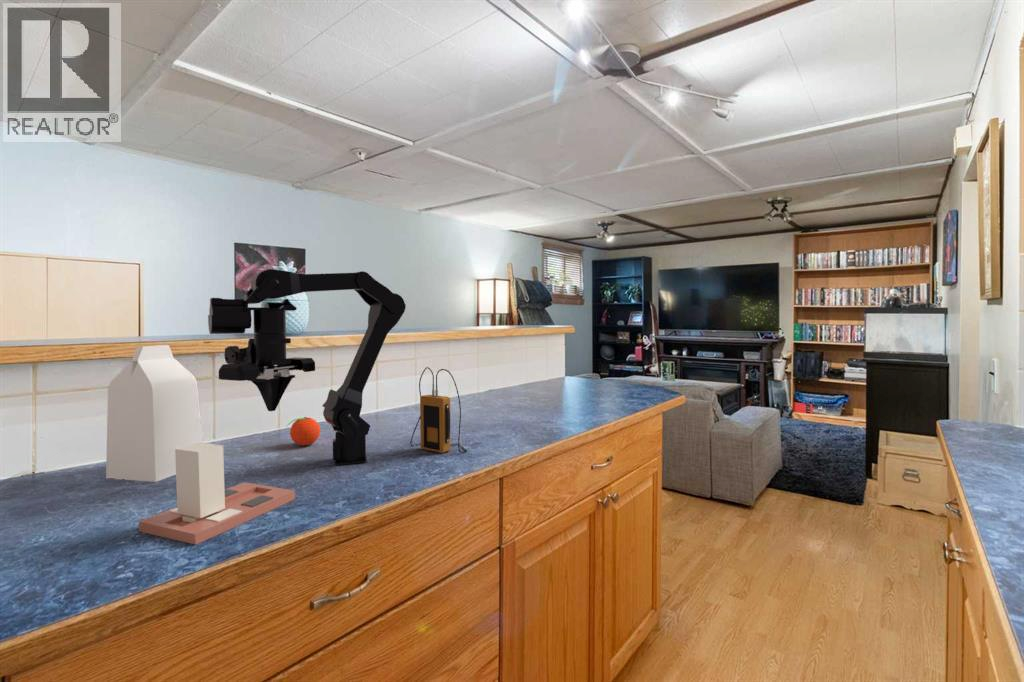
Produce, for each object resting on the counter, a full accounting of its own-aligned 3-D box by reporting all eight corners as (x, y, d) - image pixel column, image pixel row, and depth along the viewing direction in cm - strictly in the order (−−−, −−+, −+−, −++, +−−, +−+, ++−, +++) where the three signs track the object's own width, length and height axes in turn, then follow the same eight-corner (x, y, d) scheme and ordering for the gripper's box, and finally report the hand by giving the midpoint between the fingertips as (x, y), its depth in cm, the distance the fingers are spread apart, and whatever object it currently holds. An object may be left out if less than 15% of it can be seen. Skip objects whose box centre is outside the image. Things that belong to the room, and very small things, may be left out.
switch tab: (202, 510, 77) (200, 442, 76) (225, 514, 75) (223, 445, 75) (177, 519, 73) (175, 448, 73) (200, 524, 71) (198, 452, 71)
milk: (155, 481, 93) (150, 348, 91) (106, 478, 95) (100, 347, 93) (205, 463, 105) (201, 344, 103) (160, 460, 107) (156, 343, 105)
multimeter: (481, 446, 118) (480, 366, 117) (455, 456, 110) (454, 369, 108) (436, 438, 126) (435, 362, 125) (408, 447, 117) (407, 366, 116)
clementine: (286, 451, 114) (286, 421, 114) (284, 444, 120) (283, 416, 120) (322, 446, 118) (321, 418, 118) (318, 440, 124) (318, 413, 124)
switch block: (244, 490, 88) (244, 481, 88) (295, 499, 84) (295, 489, 84) (139, 531, 71) (138, 520, 71) (195, 544, 67) (195, 533, 67)
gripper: (276, 331, 107) (278, 400, 108) (196, 334, 90) (198, 416, 90) (316, 332, 103) (317, 404, 104) (240, 335, 86) (242, 421, 86)
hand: (271, 410), depth 96 cm, fingers closed
